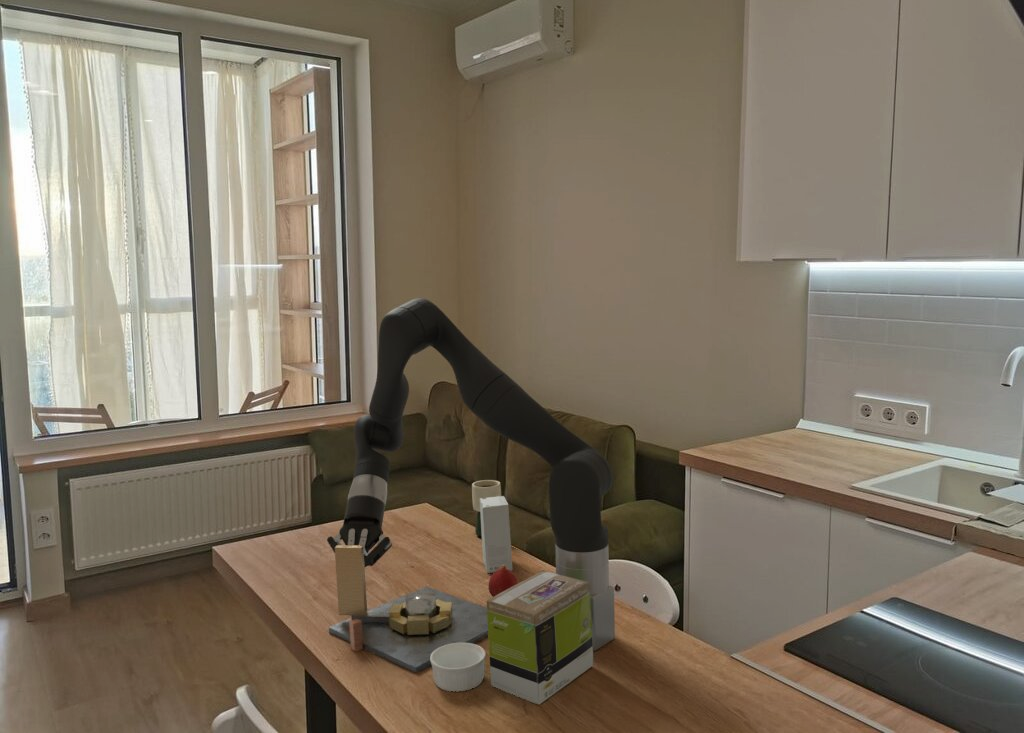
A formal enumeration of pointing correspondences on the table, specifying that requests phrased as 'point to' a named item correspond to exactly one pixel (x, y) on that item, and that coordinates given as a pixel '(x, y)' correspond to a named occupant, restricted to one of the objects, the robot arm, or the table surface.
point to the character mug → (483, 491)
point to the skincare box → (495, 533)
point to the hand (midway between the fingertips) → (351, 585)
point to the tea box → (540, 635)
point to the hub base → (419, 647)
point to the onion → (501, 581)
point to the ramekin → (458, 666)
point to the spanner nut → (355, 602)
